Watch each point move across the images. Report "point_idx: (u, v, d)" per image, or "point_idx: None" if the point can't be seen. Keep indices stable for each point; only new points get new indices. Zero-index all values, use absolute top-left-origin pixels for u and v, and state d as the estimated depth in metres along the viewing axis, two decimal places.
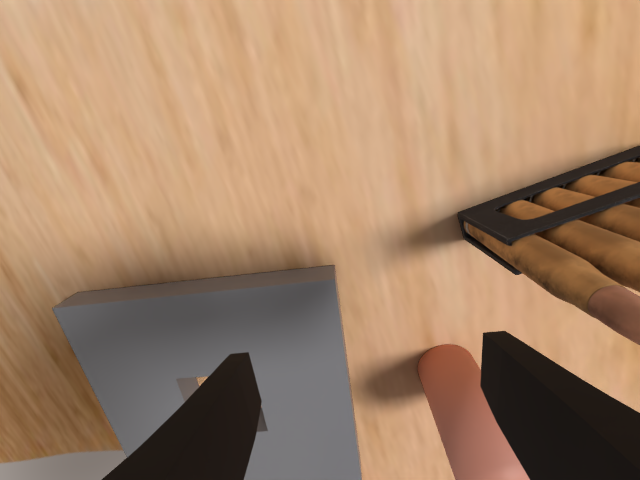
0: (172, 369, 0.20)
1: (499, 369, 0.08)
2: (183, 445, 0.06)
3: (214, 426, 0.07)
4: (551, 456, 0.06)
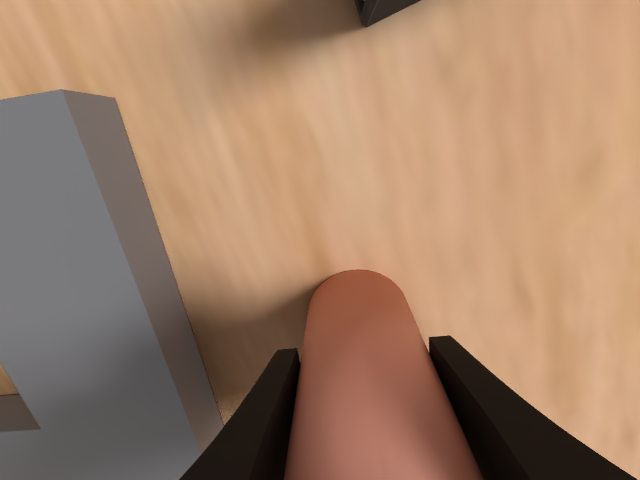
0: None
1: (440, 373, 0.08)
2: (258, 441, 0.06)
3: (278, 422, 0.07)
4: (476, 460, 0.06)
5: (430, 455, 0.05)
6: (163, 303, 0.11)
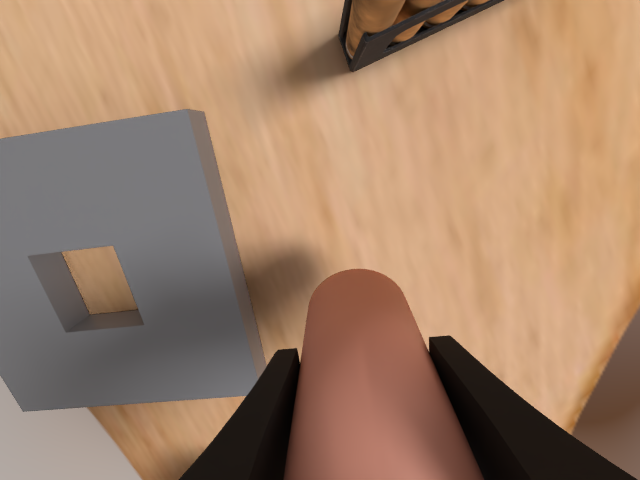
0: (20, 243, 0.17)
1: (440, 373, 0.08)
2: (258, 441, 0.06)
3: (278, 422, 0.07)
4: (476, 460, 0.06)
5: (429, 453, 0.05)
6: (228, 239, 0.17)
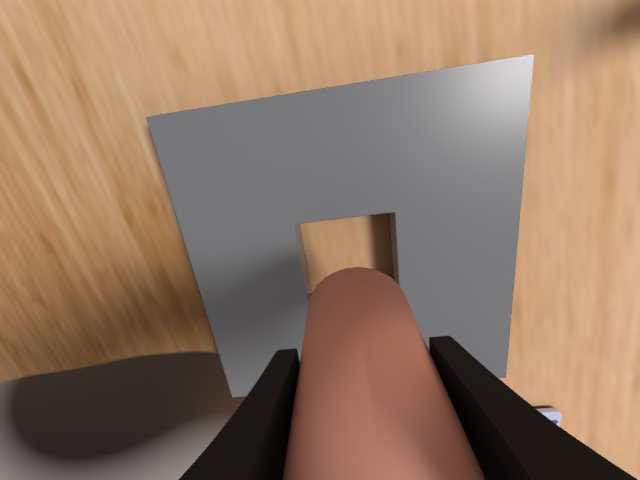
0: (291, 209, 0.16)
1: (440, 373, 0.08)
2: (258, 441, 0.06)
3: (278, 422, 0.07)
4: None
5: (429, 450, 0.05)
6: None
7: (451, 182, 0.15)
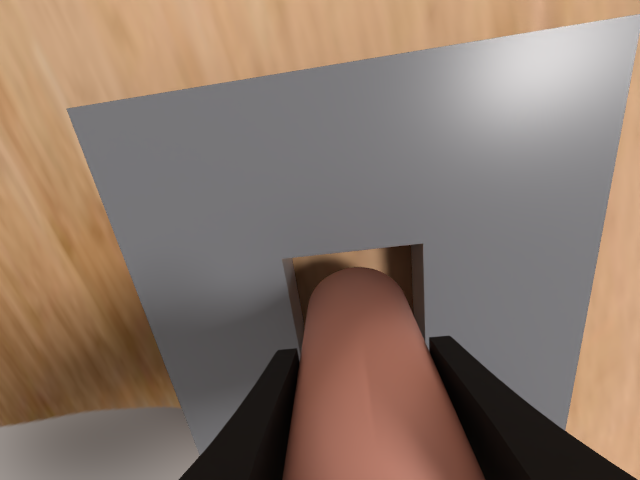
0: (278, 239, 0.11)
1: (440, 373, 0.08)
2: (258, 441, 0.06)
3: (278, 422, 0.07)
4: None
5: (429, 450, 0.05)
6: None
7: (504, 203, 0.10)
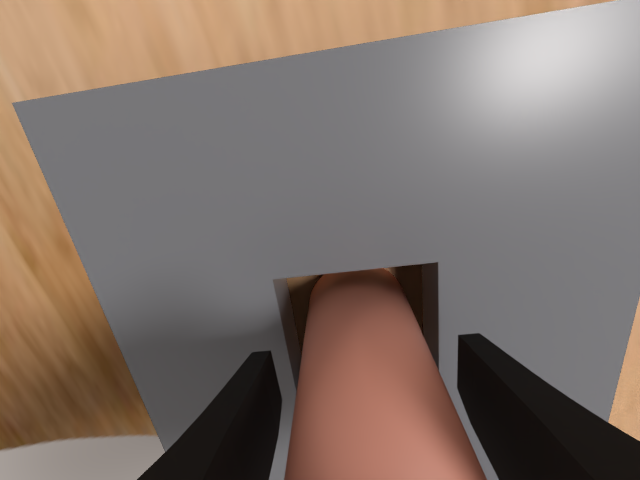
0: (268, 257, 0.10)
1: (472, 371, 0.08)
2: (217, 443, 0.06)
3: (243, 424, 0.07)
4: (516, 458, 0.06)
5: (423, 424, 0.05)
6: None
7: (536, 216, 0.09)
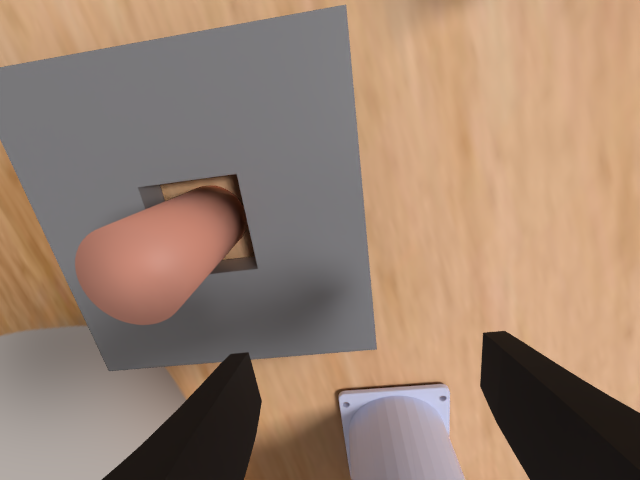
0: (132, 171, 0.15)
1: (499, 369, 0.08)
2: (183, 445, 0.06)
3: (214, 426, 0.07)
4: (551, 456, 0.06)
5: (154, 218, 0.11)
6: None
7: (287, 142, 0.15)
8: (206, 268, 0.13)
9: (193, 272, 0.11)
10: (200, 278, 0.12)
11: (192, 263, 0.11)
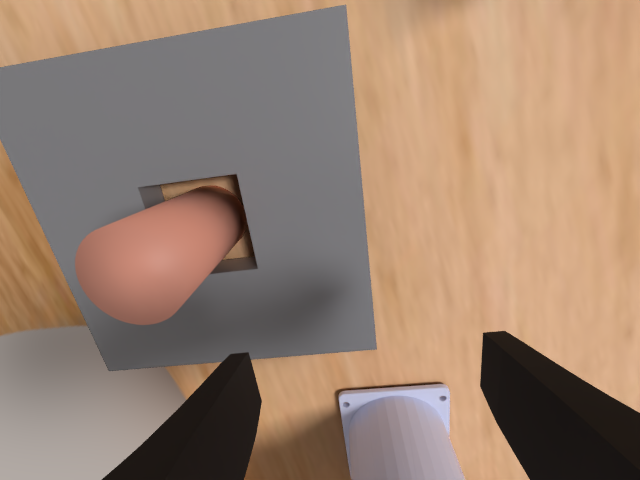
0: (132, 171, 0.15)
1: (499, 369, 0.08)
2: (183, 445, 0.06)
3: (214, 426, 0.07)
4: (551, 456, 0.06)
5: (154, 218, 0.11)
6: None
7: (287, 142, 0.15)
8: (206, 268, 0.13)
9: (193, 272, 0.11)
10: (200, 278, 0.12)
11: (192, 263, 0.11)
